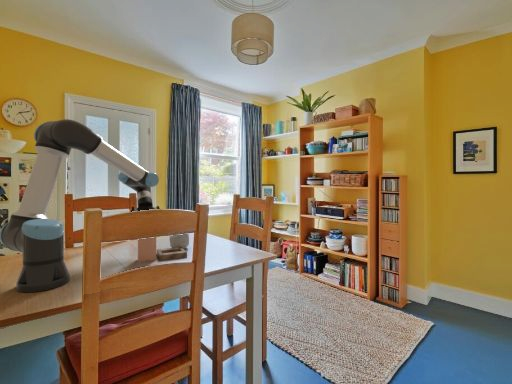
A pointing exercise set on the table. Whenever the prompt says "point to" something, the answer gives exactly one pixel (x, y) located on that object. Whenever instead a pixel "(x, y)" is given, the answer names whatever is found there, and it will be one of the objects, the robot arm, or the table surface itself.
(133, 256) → the table surface
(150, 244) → the pinkish brown block
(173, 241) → the grey rounded piece
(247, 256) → the table surface
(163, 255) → the base board
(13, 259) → the table surface
